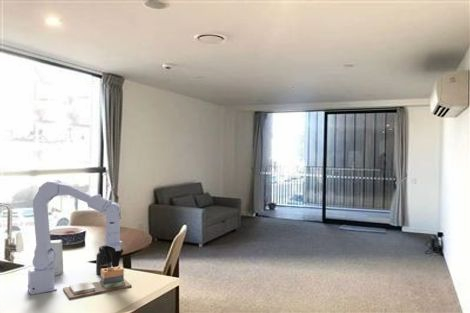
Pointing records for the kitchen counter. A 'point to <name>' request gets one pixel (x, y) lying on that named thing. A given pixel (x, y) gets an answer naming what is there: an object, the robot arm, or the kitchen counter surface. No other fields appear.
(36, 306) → the kitchen counter surface
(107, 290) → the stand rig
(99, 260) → the supplement bottle
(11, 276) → the kitchen counter surface
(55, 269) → the skincare box
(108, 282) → the plate
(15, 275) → the kitchen counter surface
